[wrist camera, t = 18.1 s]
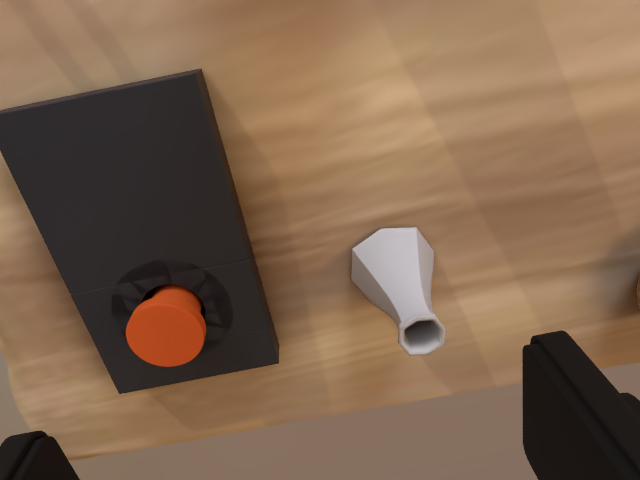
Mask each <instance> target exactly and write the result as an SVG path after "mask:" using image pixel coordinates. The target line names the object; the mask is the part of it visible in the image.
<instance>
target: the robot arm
mask: <svg viewBox="0 0 640 480" xmlns="http://www.w3.org/2000/svg"><path fill="white" fill-rule="evenodd" d="M523 445H524V450H525V454H526V456H527V459H528V461H529V463H530V465H531V467H532V469H533V471H534V472H535V474H536V476H537V478H538V480H640V401H639V400H638V399H637V398H636V397H634V396H633V395H631V394H629V393H619V392H618V391H617V390H616V389H615V387H614V386H613V385H612V384H611V383H610V382H609V380H608V379H607V378H606V377H605V376H604V375H603V374H602V372H601V371H600V370H599V369H598V368H597V367H596V366H595V364H594V363H593V362H592V361H591V360H590V359H589V357H588V356H587V355H586V354H585V353H584V352H583V351H582V349H581V348H580V347H579V346H578V345H577V344H576V343H575V341H574V340H573V339H572V338H571V337H570V336H569V335H568V334H567V333H566V332H565V331H557V332H551V333H546V334H541V335H536V336H533V337H532V338H531V342H530V345H525V346H524V347H523ZM0 480H80V479H79V478H78V476H77V474H76V473H75V471H74V469H73V468H72V466H71V464H70V463H69V461H68V459H67V458H66V456H65V454H64V453H63V451H62V449H61V448H60V446H59V444H58V443H57V441H56V440H55V439H54V438H53V437H51V436H49V437H48V435H47V434H46V433H45V432H43V431H34V432H29V433H24V434H19V435H13V436H10V437H8V438H7V439H5V441H4V442H3V443H2V444H1V446H0Z"/></svg>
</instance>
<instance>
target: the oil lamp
mask: <svg viewBox="0 0 640 480" xmlns="http://www.w3.org/2000/svg"><path fill="white" fill-rule="evenodd" d="M637 301H638V304H639V310H640V274H639V278H638V283H637Z"/></svg>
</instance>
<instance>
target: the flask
mask: <svg viewBox="0 0 640 480" xmlns="http://www.w3.org/2000/svg"><path fill="white" fill-rule="evenodd" d="M433 263H434V251H433V249H432V248H431V247H430V245H429V244H428V243H427V241H426V240H425V239H424V237H423V236H422V235H421V233H420V232H419V231H418V229H417V228H416V227H414V228H386V229H380V230H378V231H377V232H375V233H374V234H373V235H371V236H370V237H368V238H367V239H365V240H364V241H363V242H361V243H360V244H358V245H357V246H355V247H354V248H353V249H352V274H351V280H352V281H353V282H354V283H355V284H356V285H357V286H358V288H359V289H360V290H361V291H362V292H363V293H364V294H365V296H366V297H367V298H368V299H369V300H370V301H371V302H372V303H373V304H374V305H376V306H377V307H378V308H380V309H381V310H382V311H384V312H385V313H386V314H388V315H389V316H390V317H391V318H392V319H393V320H394V322H395V323H396V324H397V327H398V330H399V335H398V343H399V344H400V346H401V347H402V348H403V349H404V350H405V351H406V352H407V354H408V355H409V356H413V355H428V354H430V353H432V352H433V351H435V350H436V349H438V348H440V347H441V346H443V345H444V341H445V333H446V328H445V326H444V325H443V324H442V323H441V321H440V320H439V319H438V318H437V316H436V315H435V314H434V313H433V308H432V303H431V282H432V273H433Z"/></svg>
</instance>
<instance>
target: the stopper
mask: <svg viewBox="0 0 640 480" xmlns="http://www.w3.org/2000/svg"><path fill="white" fill-rule="evenodd" d="M202 306H203V302H202V300H201V299H200V298H199V297H198V296H197V295H196V294H195V292H194V291H192V290H190V289H188V288H186V287H184V286H179V285H172V284H166V285H161V286H157V288H156V290H155V292H154V295H153V297H152V298H151V299H148V300H146V301H144V302H143V303H141V304H140V305H139V306H138V307H137V308H136V309H135V310H134V312H133V314H132V316H131V318H130V320H129V322H128V324H127V327H126V338H127V342H128V344H129V346H130V348H131V349H132V351H133V352H134V353H135V354H136V355H137V356H138V357H140V358H141V359H143V360H144V361H146V362H148V363H151V364H154V365H157V366H164V367H173V366H179V365H182V364H185V363H187V362H189V361H191V360H192V359H194V358H195V357H196V356H197V355H198V354H199V352H200V351H201V349H202V347H203V343H204V339H205V335H206V324H205V321H204V318H203V316H202V315H201V310H202Z"/></svg>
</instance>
